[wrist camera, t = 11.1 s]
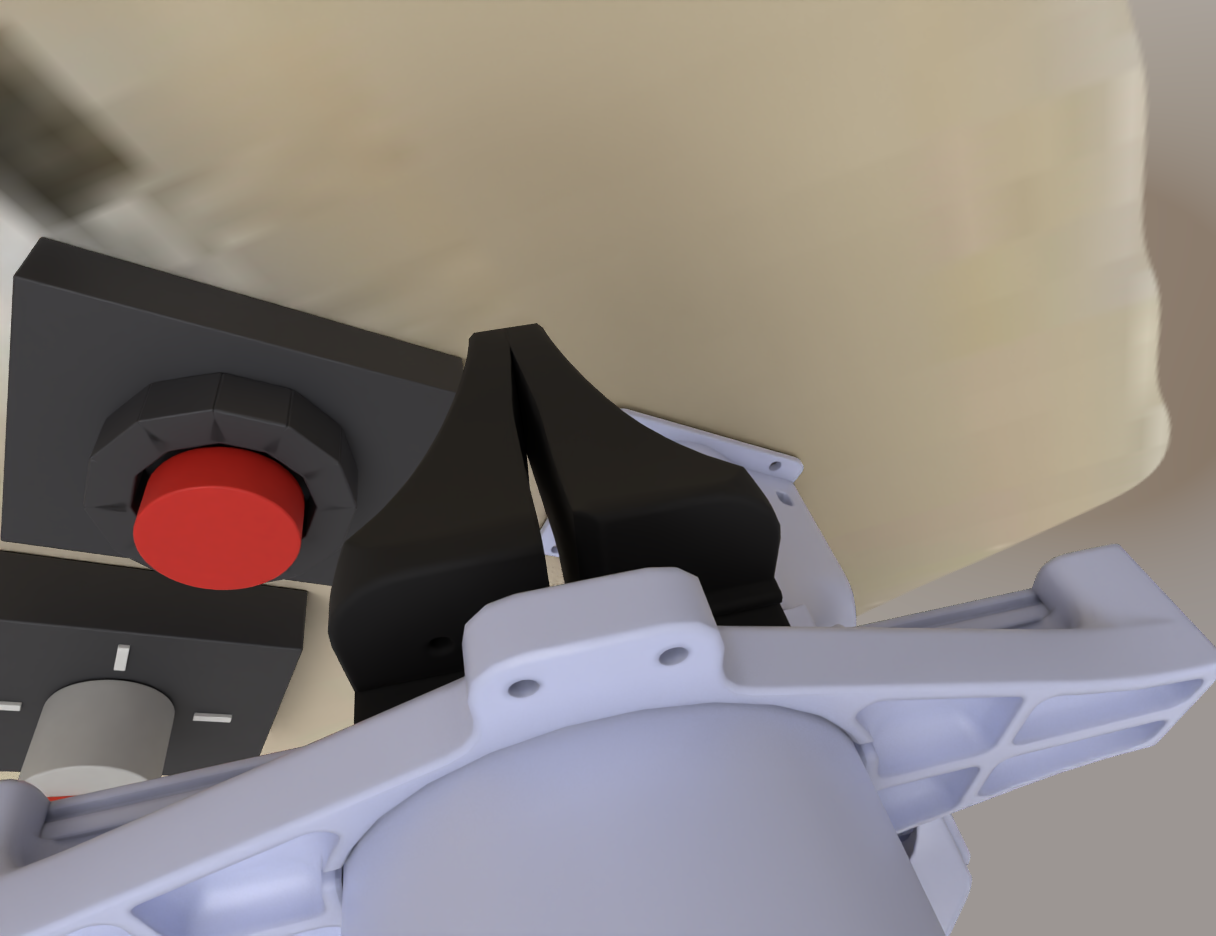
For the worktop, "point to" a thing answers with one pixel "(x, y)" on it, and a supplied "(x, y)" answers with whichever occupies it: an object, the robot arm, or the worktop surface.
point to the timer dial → (98, 738)
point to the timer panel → (146, 652)
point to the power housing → (199, 402)
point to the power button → (220, 518)
